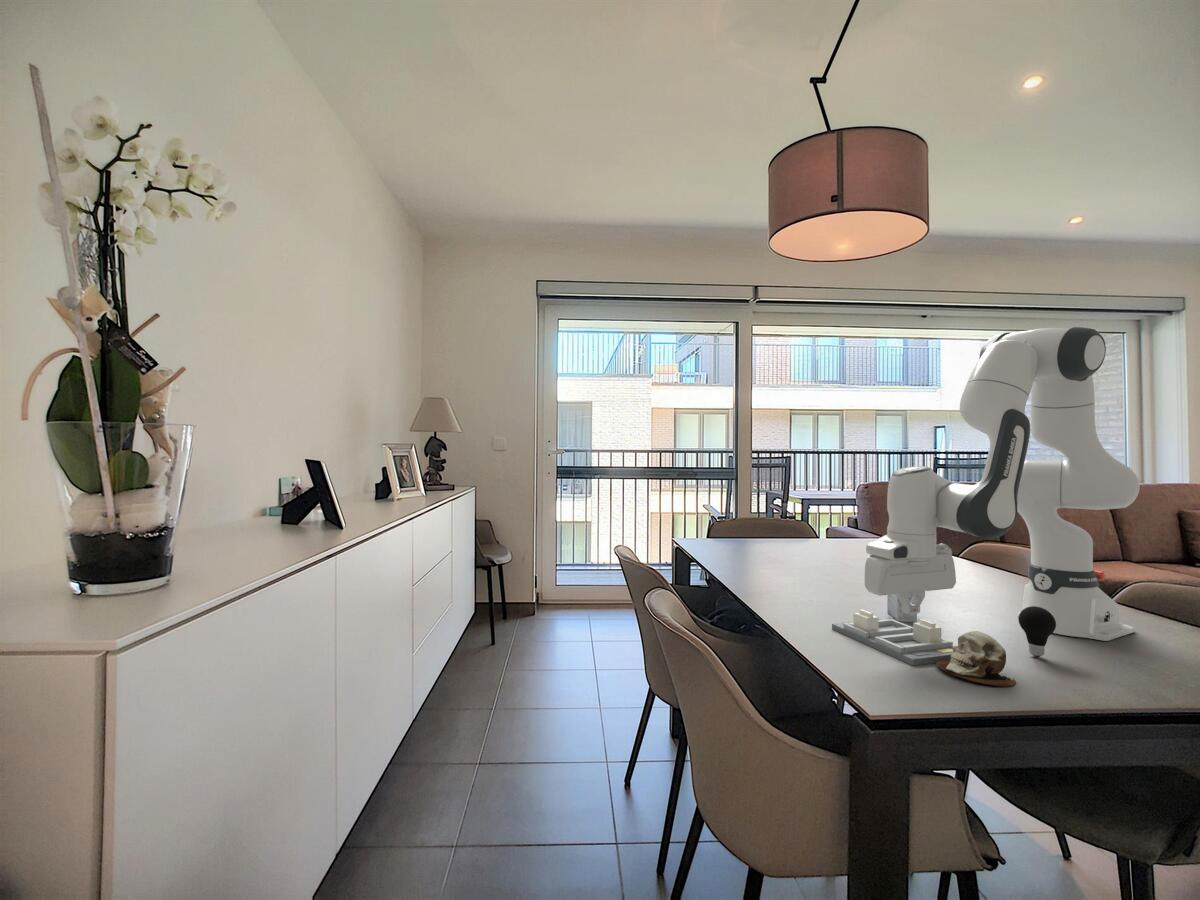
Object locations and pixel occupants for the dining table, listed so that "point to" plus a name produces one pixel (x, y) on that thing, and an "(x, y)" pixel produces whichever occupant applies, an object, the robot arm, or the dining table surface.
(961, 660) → the skull
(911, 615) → the medicine box
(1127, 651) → the dining table surface
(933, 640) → the tab
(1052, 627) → the light bulb
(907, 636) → the switch board
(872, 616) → the tab
